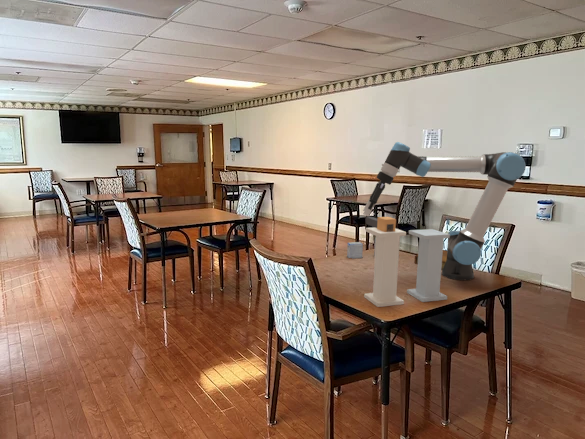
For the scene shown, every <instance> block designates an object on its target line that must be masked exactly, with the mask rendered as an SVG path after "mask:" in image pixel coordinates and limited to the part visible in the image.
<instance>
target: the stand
mask: <svg viewBox="0 0 585 439" xmlns="http://www.w3.org/2000/svg"><path fill="white" fill-rule="evenodd" d="M365 232H367V233H369V234H371V235H373V236H375V238H376V242H375V241H374V250H375V251H374V252H375V256H374V264H373V265H374V266H373V284H372V285H373V287H372V292H368V293H363V294H364V295H363V297H364V299H366V300H367V301H369V302H370V303H372V304H373V305H374V306H375V307H377V308H380V307H389V306H401V305H404V304H405V301H404V299H402V298H401V297H399V296H398V295H397V293H398V292H397V290H398V276H399V275H398V274H399V273H398V272H399V258H400V256H399V255H400V241H401V237H406V236H407V232H406V231H404V230H402V229H399V228H397V227H396V228H395V231H391V232H383V231H381V230H378V229H377V228H376V227H373V226H372V227H365Z"/></svg>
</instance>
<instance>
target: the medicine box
mask: <svg viewBox="0 0 585 439" xmlns="http://www.w3.org/2000/svg"><path fill="white" fill-rule="evenodd" d="M363 250H364V244H363V243H362V242H360V241H356V242H355V241H354V242H353V241H352V242H347V250H346V253H347V254H346V258H348V259H349V258H352V259H362V258H363Z"/></svg>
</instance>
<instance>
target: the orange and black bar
mask: <svg viewBox="0 0 585 439" xmlns="http://www.w3.org/2000/svg"><path fill="white" fill-rule="evenodd" d="M365 220H366V221H365V224H366V225H368V226H370V227H372V228H373V227H376V228H377V229H378V230H381V231H383V232H391V231H395V228H396V229H397V227H396V226H397V219H396V218H394V217H390V216H378V217H374V216H369V217H368V216H366V218H365Z"/></svg>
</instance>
